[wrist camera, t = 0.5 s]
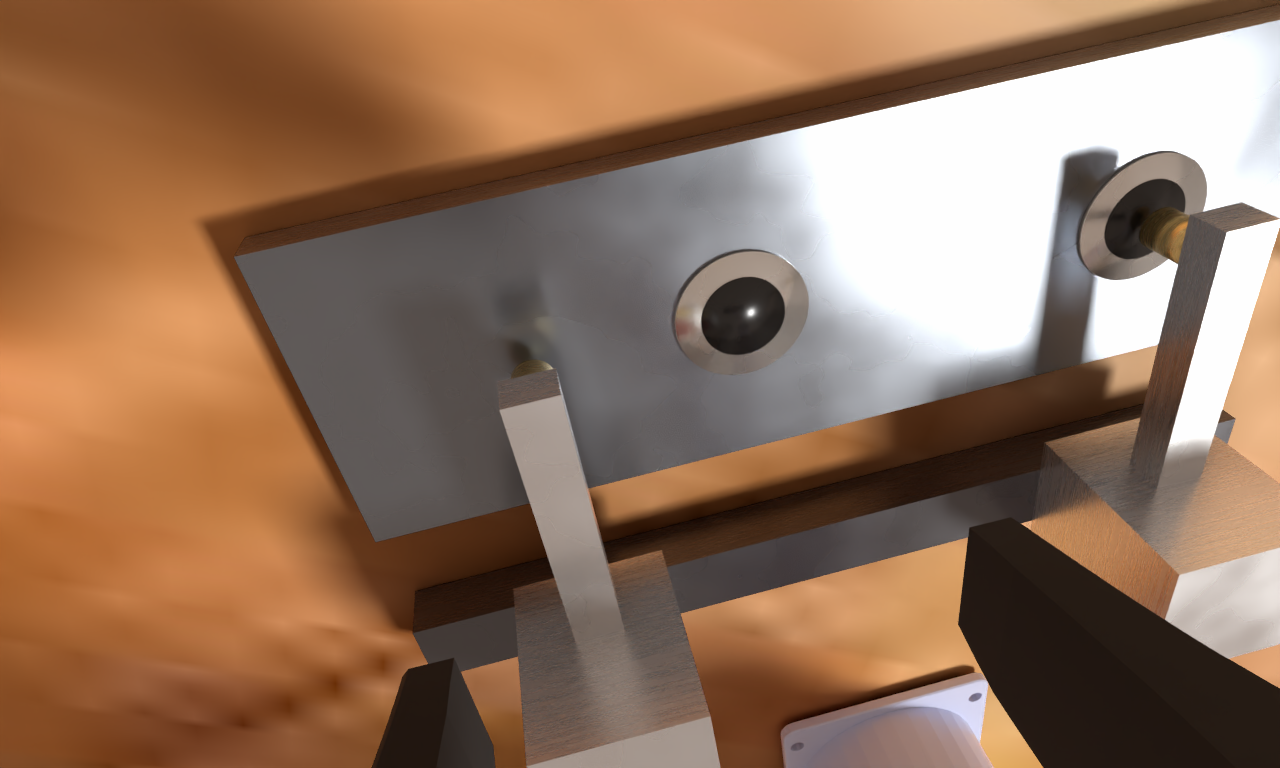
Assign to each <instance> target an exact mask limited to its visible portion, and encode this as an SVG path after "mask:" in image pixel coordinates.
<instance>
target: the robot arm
mask: <svg viewBox="0 0 1280 768" xmlns="http://www.w3.org/2000/svg"><path fill="white" fill-rule="evenodd" d="M958 625H959V627H960V629H961V631H962V633H963V635H964V637H965V639H966V641H967V643H968V645H969V647H970V649H971V651H972V653H973V655H974V657H975V659H976V661H977V663H978V664H979V666H980V668H981V670H982V672H983V674H984V676H985V677H984V676H983V675H982V674H981V673H970V674H966V675H963V676H959V677H956V678H952V679H948V680H945V681H941V682H938V683H934V684H930V685H927V686H923V687H919V688H916V689H912V690H909V691H905V692H901V693H898V694H894V695H891V696H887V697H883V698H880V699H876V700H872V701H869V702H865V703H862V704H858V705H854V706H851V707H847V708H843V709H840V710H836V711H833V712H829V713H825V714H822V715H818V716H815V717H811V718H807V719H804V720H800V721H796V722H793V723H790V724H788V725H786V726H785V727H784V728H783V729H782V731H781V743H782V752H783V761H784V768H994V767H993V765H992V763H991V762H990V760H989V758H988V757H987V755H986V753H985V752H984V750H983V748H982V746H981V745H980V739H981V731H982V724H983V717H984V710H985V703H986V696H987V688H988V683H989V685H990V687H991V689H992V691H993V693H994V694H995V696H996V697H997V699H998V700H999V702H1000V703H1001V705H1002V706H1003V708H1004V709H1005V711H1006V712H1007V714H1008V715H1009V717H1010V718H1011V720H1012V721H1013V723H1014V724H1015V726H1016V727H1017V729H1018V730H1019V732H1020V733H1021V735H1022V736H1023V738H1024V739H1025V741H1026V742H1027V744H1028V745H1029V747H1030V748H1031V750H1032V751H1033V753H1034V754H1035V756H1036V757H1037V759H1038V760H1039V762H1040V763H1041V765H1042V766H1043V768H1280V688H1278V687H1276V686H1274V685H1272V684H1271V683H1269V682H1267V681H1266V680H1264V679H1262V678H1260V677H1259V676H1257V675H1255V674H1254V673H1252V672H1250V671H1248V670H1247V669H1245V668H1243V667H1242V666H1240V665H1238V664H1236V663H1235V662H1233V661H1231V660H1229V659H1228V658H1226V657H1224V656H1223V655H1221V654H1219V653H1217V652H1216V651H1214V650H1213V649H1211V648H1209V647H1208V646H1206V645H1204V644H1203V643H1201V642H1199V641H1198V640H1196V639H1195V638H1193V637H1191V636H1190V635H1188V634H1187V633H1185V632H1183V631H1182V630H1180V629H1179V628H1177V627H1176V626H1174V625H1172V624H1171V623H1169V622H1168V621H1166V620H1165V619H1163V618H1161V617H1160V616H1158V615H1157V614H1155V613H1154V612H1152V611H1150V610H1149V609H1147V608H1146V607H1144V606H1143V605H1141V604H1139V603H1138V602H1136V601H1135V600H1133V599H1132V598H1130V597H1129V596H1127V595H1126V594H1124V593H1123V592H1121V591H1120V590H1118V589H1117V588H1115V587H1114V586H1112V585H1111V584H1109V583H1108V582H1106V581H1105V580H1103V579H1102V578H1100V577H1099V576H1097V575H1096V574H1094V573H1093V572H1091V571H1090V570H1088V569H1087V568H1085V567H1084V566H1082V565H1081V564H1079V563H1078V562H1077V561H1075V560H1074V559H1072V558H1071V557H1069V556H1068V555H1066V554H1065V553H1063V552H1062V551H1060V550H1059V549H1057V548H1056V547H1054V546H1053V545H1052V544H1050V543H1049V542H1047V541H1046V540H1044V539H1043V538H1041V537H1040V536H1038V535H1037V534H1035V533H1034V532H1032V531H1031V530H1029V529H1028V528H1026V527H1025V526H1023V525H1022V524H1020V523H1019V522H1017V521H1016V520H1015V519H1013V518H1011V517H1009V518H1005V519H1001V520H997V521H993V522H989V523H985V524H981V525H977V526H973V527H969V535H968V543H967V552H966V561H965V569H964V578H963V587H962V595H961V604H960V613H959V621H958ZM985 678H986V679H987V680H986V679H985ZM987 681H988V682H987ZM372 768H495V758H494V748H493V744H492V742H491V740H490V737H489V735H488V733H487V731H486V728H485V726H484V724H483V722H482V719H481V717H480V715H479V713H478V710H477V708H476V706H475V704H474V701H473V699H472V697H471V695H470V692H469V690H468V688H467V686H466V683H465V681H464V679H463V677H462V674H461V672H460V670H459V668H458V665H457V663H456V661H455V659H454V658H450V659H446V660H442V661H439V662H435V663H431V664H427V665H423V666H419V667H415V668H411V669H408V670H407V672H406V673H405V674H404V675H403V677H402V680H401V683H400V686H399V690H398V693H397V696H396V699H395V702H394V705H393V708H392V711H391V714H390V717H389V720H388V723H387V726H386V729H385V732H384V735H383V738H382V741H381V743H380V746H379V749H378V752H377V754H376V757H375V760H374V763H373V765H372Z"/></svg>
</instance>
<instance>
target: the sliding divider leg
mask: <svg viewBox="0 0 1280 768" xmlns="http://www.w3.org/2000/svg"><path fill="white" fill-rule="evenodd" d="M497 383H498V397H499V410H500V413H501V416H502V420H503V423H504V426H505V429H506V432H507V435H508V438H509V441H510V444H511V447H512V450H513V453H514V456H515V459H516V462H517V465H518V468H519V471H520V474H521V477H522V480H523V483H524V486H525V490H526V493H527V496H528V499H529V502H530V505H531V508H532V511H533V514H534V517H535V520H536V523H537V526H538V529H539V532H540V535H541V538H542V541H543V544H544V547H545V550H546V553H547V556H548V560H549V563H550V566H551V569H552V572H553V575H554V578H552V579H548V580H544V581H540V582H536V583H532V584H529V585H525V586H521V587H517V588H513V590H514V604H515V618H516V631H517V645H518V659H519V673H520V687H521V700H522V714H523V728H524V742H525V755H526V767H527V768H721V767H720V762H719V757H718V752H717V747H716V742H715V736H714V731H713V726H712V721H711V716H710V713H709V709H708V706H707V702H706V699H705V696H704V692H703V689H702V685H701V682H700V679H699V675H698V672H697V668H696V665H695V662H694V658H693V655H692V651H691V648H690V645H689V641H688V638H687V634H686V631H685V628H684V624H683V621H682V617H681V614H680V611H679V607H678V604H677V600H676V597H675V594H674V590H673V587H672V583H671V580H670V577H669V573H668V570H667V566H666V563H665V560H664V556H663V553H662V550H660V551H656V552H652V553H648V554H644V555H640V556H637V557H633V558H629V559H625V560H621V561H617V562H613V563H610V564H608V560H607V557H606V553H605V549H604V545H603V542H602V538H601V534H600V531H599V527H598V523H597V519H596V516H595V512H594V508H593V504H592V501H591V497H590V493H589V490H588V486H587V482H586V478H585V475H584V471H583V467H582V463H581V460H580V456H579V452H578V449H577V445H576V441H575V437H574V434H573V430H572V426H571V422H570V419H569V415H568V411H567V408H566V404H565V400H564V396H563V393H562V389H561V385H560V381H559V378H558V374H557V370H556V368H554V369H553V368H552V367H551V366H550V365H549V364H548V363H546V362H544V361H541V360H535V359H533V360H527V361H524V362H522V363H520V364H519V365H517V366H516V367H515V369H514V370H513V372H512V374H511V379H508V380H504V381H500V382H497Z"/></svg>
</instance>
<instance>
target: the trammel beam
mask: <svg viewBox="0 0 1280 768" xmlns="http://www.w3.org/2000/svg"><path fill="white" fill-rule="evenodd" d="M1143 406H1144V404H1142V405H1138V406H1134V407H1130V408H1127V409H1123V410H1119V411H1115V412H1111V413H1107V414H1103V415H1099V416H1095V417H1092V418H1088V419H1084V420H1080V421H1076V422H1072V423H1068V424H1064V425H1060V426H1057V427H1053V428H1049V429H1045V430H1041V431H1037V432H1033V433H1029V434H1025V435H1022V436H1018V437H1014V438H1010V439H1006V440H1002V441H998V442H994V443H991V444H987V445H983V446H979V447H975V448H971V449H967V450H963V451H959V452H956V453H952V454H948V455H944V456H940V457H936V458H932V459H928V460H924V461H921V462H917V463H913V464H909V465H905V466H901V467H897V468H893V469H889V470H886V471H882V472H878V473H874V474H870V475H866V476H862V477H858V478H855V479H851V480H847V481H843V482H839V483H835V484H831V485H827V486H823V487H820V488H816V489H812V490H808V491H804V492H800V493H796V494H792V495H788V496H785V497H781V498H777V499H773V500H769V501H765V502H761V503H757V504H753V505H750V506H746V507H742V508H738V509H734V510H730V511H726V512H722V513H719V514H715V515H711V516H707V517H703V518H699V519H695V520H691V521H687V522H684V523H680V524H676V525H672V526H668V527H664V528H660V529H656V530H652V531H649V532H645V533H641V534H637V535H633V536H629V537H625V538H621V539H617V540H614V541H610V542H606V543H603V545H604V549H605V553H606V557H607V560H608V564H610V563H613V562H617V561H621V560H625V559H629V558H633V557H637V556H640V555H644V554H648V553H652V552H656V551H660V550H662V553H663V556H664V560H665V563H666V566H667V570H668V573H669V577H670V580H671V583H672V587H673V590H674V594H675V597H676V600H677V604H678V607H679V611H680V613H684V612H688V611H691V610H695V609H699V608H703V607H706V606H710V605H714V604H718V603H722V602H725V601H729V600H733V599H737V598H740V597H744V596H748V595H752V594H756V593H759V592H763V591H767V590H771V589H774V588H778V587H782V586H786V585H789V584H793V583H797V582H801V581H805V580H808V579H812V578H816V577H820V576H823V575H827V574H831V573H835V572H839V571H842V570H846V569H850V568H854V567H857V566H861V565H865V564H869V563H873V562H876V561H880V560H884V559H888V558H891V557H895V556H899V555H903V554H907V553H910V552H914V551H918V550H922V549H925V548H929V547H933V546H937V545H941V544H944V543H948V542H952V541H956V540H959V539H963V538H967V537H968V535H969V527H973V526H977V525H981V524H985V523H989V522H993V521H997V520H1001V519H1005V518H1009V517H1011V518H1013V519H1015V520H1016V521H1017V522H1019V523H1024V522H1027V521H1031V520H1032V518H1033V512H1034V506H1035V500H1036V494H1037V487H1038V481H1039V475H1040V469H1041V462H1042V456H1043V450H1044V444H1045V442H1049V441H1052V440H1056V439H1060V438H1064V437H1068V436H1072V435H1076V434H1079V433H1083V432H1087V431H1091V430H1095V429H1099V428H1103V427H1107V426H1110V425H1114V424H1118V423H1122V422H1126V421H1130V420H1134V419H1138V418H1141V414H1142V410H1143ZM1234 422H1235V418H1234V417H1232V416H1231V415H1229V414H1228V413H1227V412H1225V411H1224V410H1222V411H1221V414H1220V418H1219V421H1218V424H1217V427H1216V430H1215V434H1214V435H1216V436H1217V437H1218V438H1220V439H1221V440H1222V441H1224V442H1225V443H1226V444H1227V443H1228V440H1229V437H1230V434H1231V431H1232V428H1233V425H1234ZM552 578H554V575H553V572H552V569H551V566H550V563H549V560H548V558H544V559H540V560H536V561H532V562H528V563H524V564H520V565H516V566H513V567H509V568H505V569H501V570H497V571H493V572H489V573H485V574H481V575H478V576H474V577H470V578H466V579H462V580H458V581H454V582H450V583H446V584H443V585H439V586H435V587H431V588H427V589H423V590H419V591H415V606H414V622H413V635H414V637H415V639H416V641H417V643H418V645H419V647H420V649H421V651H422V653H423V655H424V656H425V658H426V660H427V662H428V664H431V663H435V662H439V661H442V660H446V659H450V658H454V659H455V661H456V663H457V665H458V668H459V670H460V672H461V671H465V670H469V669H472V668H476V667H480V666H484V665H487V664H491V663H495V662H499V661H503V660H506V659H510V658H514V657H518V645H517V631H516V618H515V604H514V590H513V588H517V587H521V586H525V585H529V584H532V583H536V582H540V581H544V580H548V579H552Z"/></svg>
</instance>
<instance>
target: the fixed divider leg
mask: <svg viewBox="0 0 1280 768" xmlns="http://www.w3.org/2000/svg"><path fill="white" fill-rule="evenodd" d="M1279 226H1280V218H1278V217H1276V216H1273V215H1271V214H1269V213H1266V212H1264V211H1262V210H1259V209H1257V208H1255V207H1252V206H1250V205H1248V204H1245V203H1243V202H1240V203H1236V204H1232V205H1228V206H1224V207H1219V208H1215V209H1211V210H1207V211H1203V212H1199V213H1195V214H1191V215H1190V216H1189V215H1187V214H1185V213H1183V212H1181V211H1179V210H1177V209H1175V208H1172V207H1163V208H1160V209H1157V210H1156V211H1154V212H1153V213H1151V214H1150V215H1149V216H1148V217H1147V218H1146V219H1145V221H1144V222H1143V224H1142V225H1141V227H1140V230H1139V241H1140V243H1141V244H1142V245H1143V246H1145V247H1147V248H1149V249H1151V250H1152V251H1154V252H1156V253H1158V254H1160V255H1162V256H1163V257H1165V258H1167V259H1169V260H1171V261H1172V262H1174V263H1176V264H1178V266H1177V270H1176V274H1175V278H1174V282H1173V286H1172V290H1171V295H1170V299H1169V303H1168V307H1167V311H1166V315H1165V319H1164V323H1163V327H1162V332H1161V336H1160V340H1159V344H1158V348H1157V352H1156V356H1155V360H1154V365H1153V369H1152V373H1151V377H1150V381H1149V385H1148V389H1147V393H1146V397H1145V402H1144V406H1143V410H1142V414H1141V418H1138V419H1134V420H1130V421H1126V422H1122V423H1118V424H1114V425H1110V426H1107V427H1103V428H1099V429H1095V430H1091V431H1087V432H1083V433H1079V434H1076V435H1072V436H1068V437H1064V438H1060V439H1056V440H1052V441H1049V442H1045V444H1044V450H1043V456H1042V462H1041V469H1040V475H1039V481H1038V487H1037V494H1036V500H1035V506H1034V512H1033V518H1032V525H1031V531H1032V532H1034V533H1035V534H1037V535H1038V536H1040V537H1041V538H1043V539H1044V540H1046V541H1047V542H1049V543H1050V544H1052V545H1053V546H1054V547H1056V548H1057V549H1059V550H1060V551H1062V552H1063V553H1065V554H1066V555H1068V556H1069V557H1071V558H1072V559H1074V560H1075V561H1077V562H1078V563H1079V564H1081V565H1082V566H1084V567H1085V568H1087V569H1088V570H1090V571H1091V572H1093V573H1094V574H1096V575H1097V576H1099V577H1100V578H1102V579H1103V580H1105V581H1106V582H1108V583H1109V584H1111V585H1112V586H1114V587H1115V588H1117V589H1118V590H1120V591H1121V592H1123V593H1124V594H1126V595H1127V596H1129V597H1130V598H1132V599H1133V600H1135V601H1136V602H1138V603H1139V604H1141V605H1143V606H1144V607H1146V608H1147V609H1149V610H1150V611H1152V612H1154V613H1155V614H1157V615H1158V616H1160V617H1161V618H1163V619H1165V620H1166V621H1168V622H1169V623H1171V624H1172V625H1174V626H1176V627H1177V628H1179V629H1180V630H1182V631H1183V632H1185V633H1187V634H1188V635H1190V636H1191V637H1193V638H1195V639H1196V640H1198V641H1199V642H1201V643H1203V644H1204V645H1206V646H1208V647H1209V648H1211V649H1213V650H1214V651H1216V652H1217V653H1219V654H1221V655H1223V656H1224V657H1226V658H1228V659H1229V658H1232V657H1236V656H1239V655H1243V654H1246V653H1250V652H1254V651H1257V650H1261V649H1264V648H1268V647H1271V646H1275V645H1278V644H1280V483H1278V482H1277V481H1276V480H1274V479H1273V478H1272V477H1270V476H1269V475H1268V474H1266V473H1265V472H1264V471H1262V470H1261V469H1260V468H1258V467H1257V466H1256V465H1254V464H1253V463H1252V462H1250V461H1249V460H1248V459H1246V458H1245V457H1244V456H1242V455H1241V454H1240V453H1238V452H1237V451H1236V450H1234V449H1233V448H1232V447H1230V446H1229V445H1228V444H1226V443H1225V442H1224V441H1222V440H1221V439H1220V438H1218V437H1217V436H1216V435H1214V434H1215V430H1216V427H1217V424H1218V421H1219V418H1220V414H1221V411H1222V408H1223V405H1224V402H1225V399H1226V395H1227V392H1228V389H1229V386H1230V383H1231V379H1232V376H1233V373H1234V370H1235V367H1236V363H1237V360H1238V357H1239V354H1240V351H1241V347H1242V344H1243V341H1244V338H1245V335H1246V332H1247V328H1248V325H1249V322H1250V319H1251V316H1252V312H1253V309H1254V306H1255V303H1256V300H1257V296H1258V293H1259V290H1260V287H1261V284H1262V280H1263V277H1264V274H1265V271H1266V268H1267V265H1268V261H1269V258H1270V255H1271V252H1272V249H1273V245H1274V242H1275V239H1276V236H1277V233H1278V229H1279Z"/></svg>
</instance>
